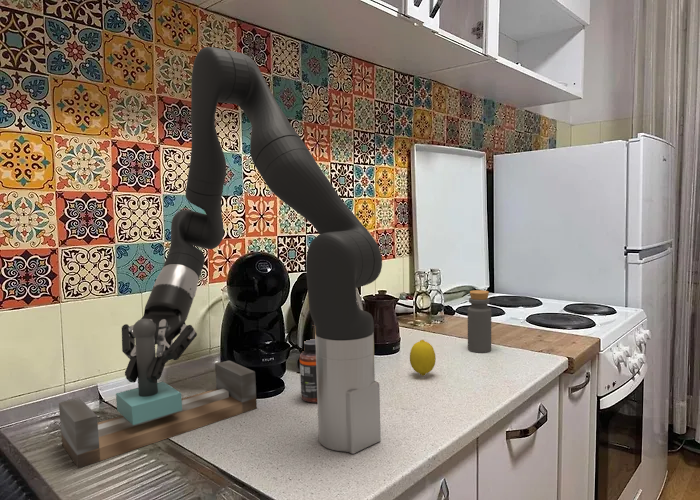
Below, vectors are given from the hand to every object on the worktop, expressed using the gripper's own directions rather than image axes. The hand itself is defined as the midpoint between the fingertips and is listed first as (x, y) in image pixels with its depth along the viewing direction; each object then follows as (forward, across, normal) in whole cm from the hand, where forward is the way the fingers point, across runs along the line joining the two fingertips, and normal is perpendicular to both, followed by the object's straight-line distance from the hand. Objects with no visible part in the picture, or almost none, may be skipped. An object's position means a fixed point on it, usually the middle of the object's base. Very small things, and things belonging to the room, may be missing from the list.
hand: (140, 380), depth 80 cm
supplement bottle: (-6, +25, +20) cm, 33 cm away
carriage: (+3, 0, +6) cm, 6 cm away
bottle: (-30, +61, +44) cm, 81 cm away
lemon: (-16, +46, +30) cm, 57 cm away
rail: (+4, +2, +10) cm, 10 cm away
